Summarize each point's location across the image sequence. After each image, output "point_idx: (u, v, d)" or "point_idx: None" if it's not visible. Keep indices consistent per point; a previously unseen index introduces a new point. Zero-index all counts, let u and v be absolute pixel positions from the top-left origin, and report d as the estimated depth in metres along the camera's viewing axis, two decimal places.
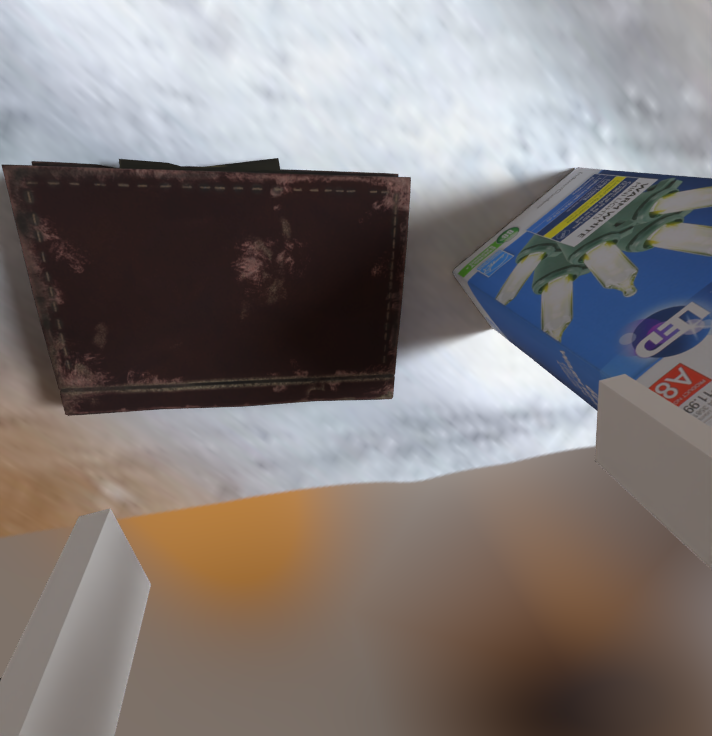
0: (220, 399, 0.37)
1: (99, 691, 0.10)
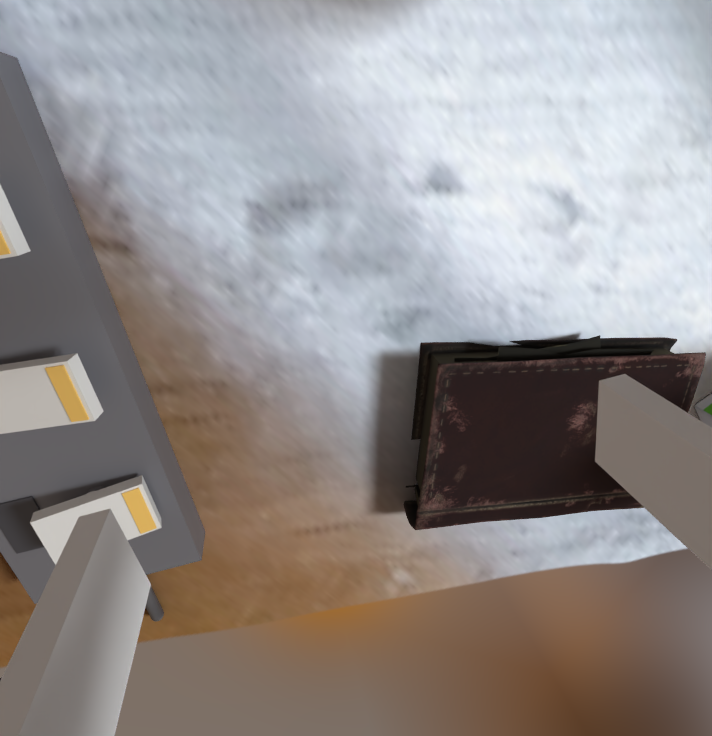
0: (526, 513, 0.47)
1: (99, 691, 0.10)
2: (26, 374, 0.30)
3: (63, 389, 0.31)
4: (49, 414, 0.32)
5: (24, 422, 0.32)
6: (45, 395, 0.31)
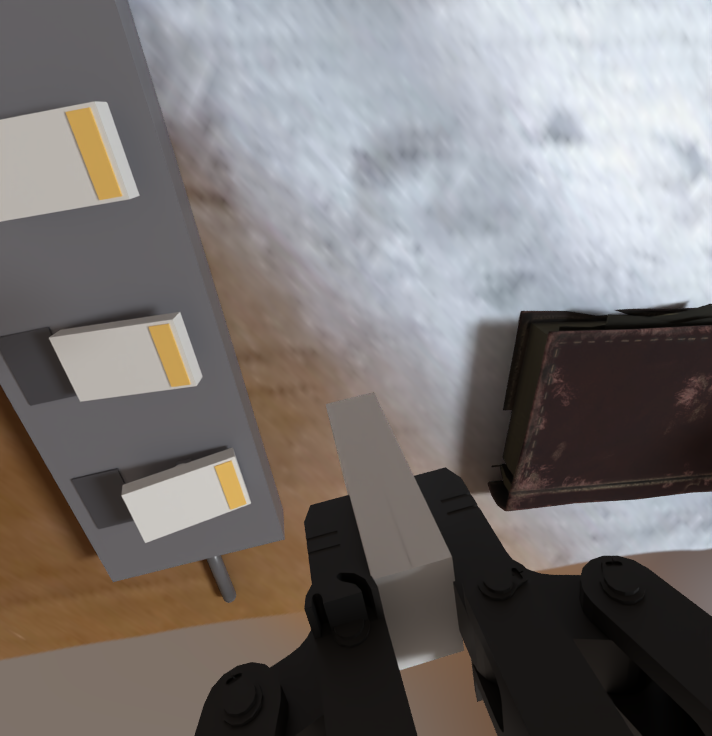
0: (621, 495, 0.44)
1: None
2: (128, 333, 0.28)
3: (165, 351, 0.28)
4: (148, 378, 0.29)
5: (120, 387, 0.30)
6: (146, 357, 0.29)
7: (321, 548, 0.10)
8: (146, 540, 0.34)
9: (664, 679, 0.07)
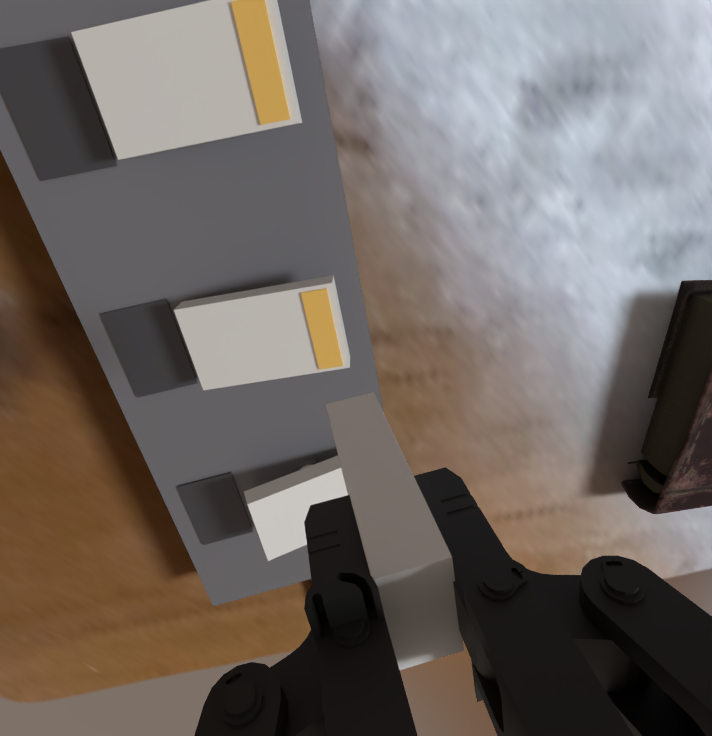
0: None
1: None
2: (273, 302, 0.23)
3: (317, 324, 0.23)
4: (291, 359, 0.24)
5: (256, 371, 0.24)
6: (292, 332, 0.23)
7: (321, 548, 0.10)
8: (269, 557, 0.28)
9: (664, 679, 0.07)
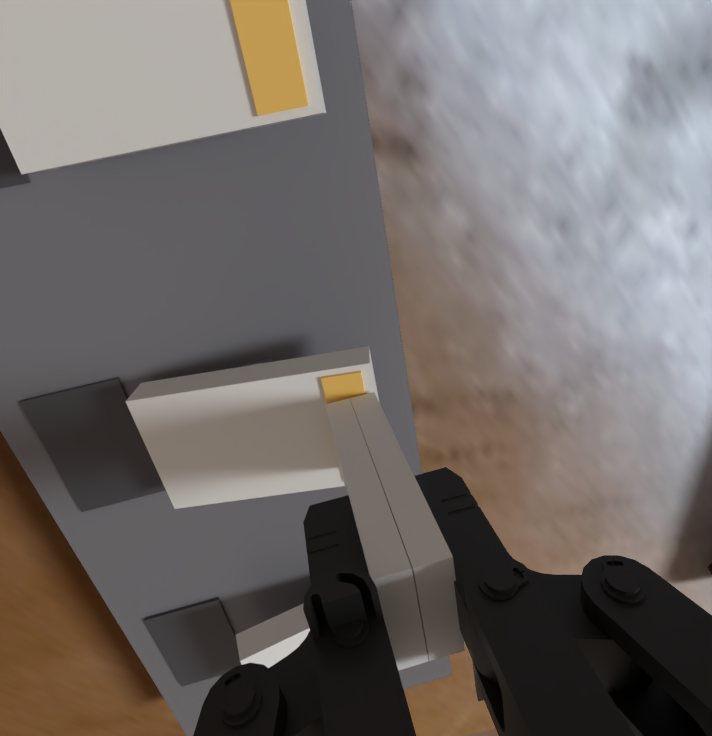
0: None
1: None
2: (278, 391, 0.15)
3: None
4: (304, 468, 0.16)
5: (252, 484, 0.16)
6: (306, 432, 0.15)
7: (320, 548, 0.10)
8: None
9: (665, 679, 0.07)
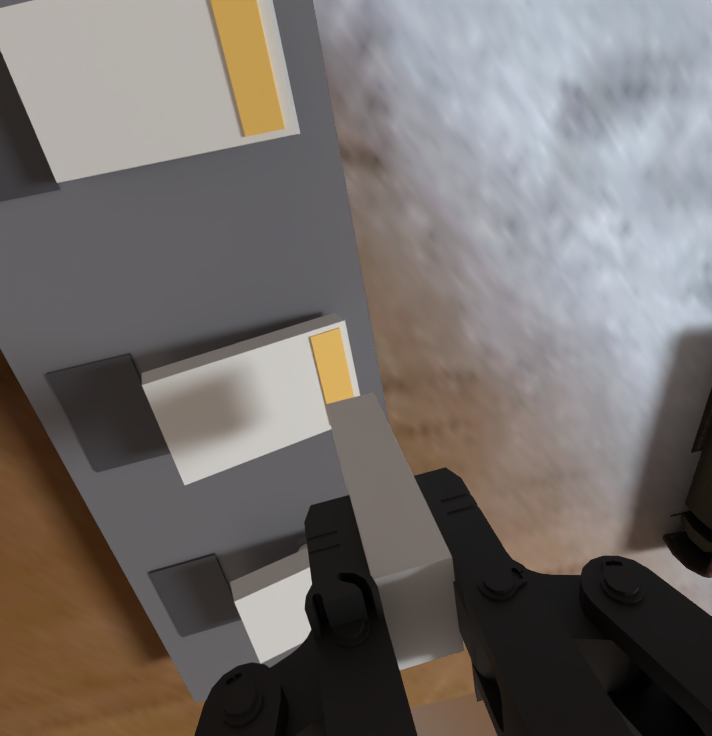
0: None
1: None
2: (276, 354, 0.18)
3: (328, 372, 0.19)
4: (298, 420, 0.19)
5: (255, 444, 0.19)
6: (299, 387, 0.19)
7: (321, 548, 0.10)
8: (262, 659, 0.23)
9: (664, 679, 0.07)
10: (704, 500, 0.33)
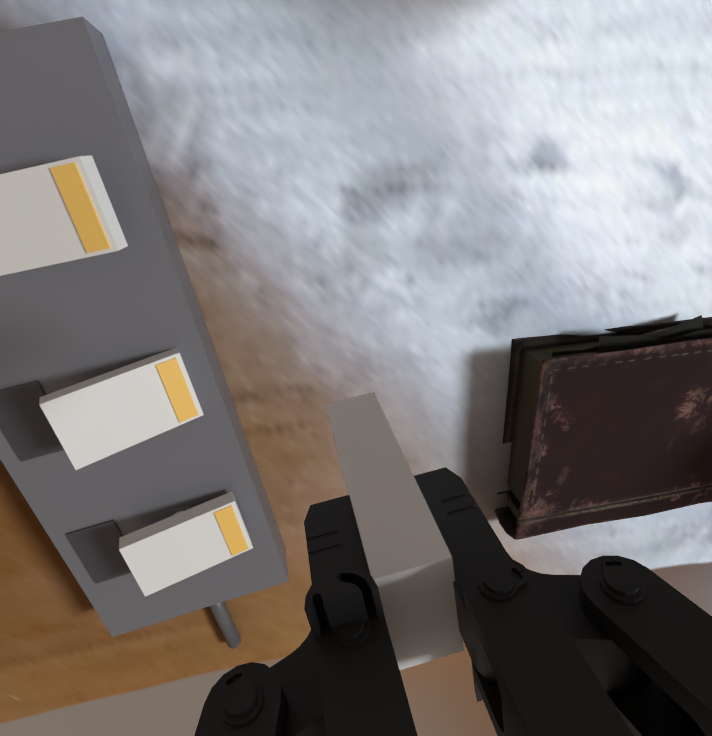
0: (630, 512, 0.44)
1: None
2: (133, 377, 0.28)
3: (172, 387, 0.29)
4: (154, 420, 0.29)
5: (124, 438, 0.29)
6: (152, 398, 0.29)
7: (321, 548, 0.10)
8: (146, 593, 0.33)
9: (664, 679, 0.07)
10: (515, 480, 0.43)
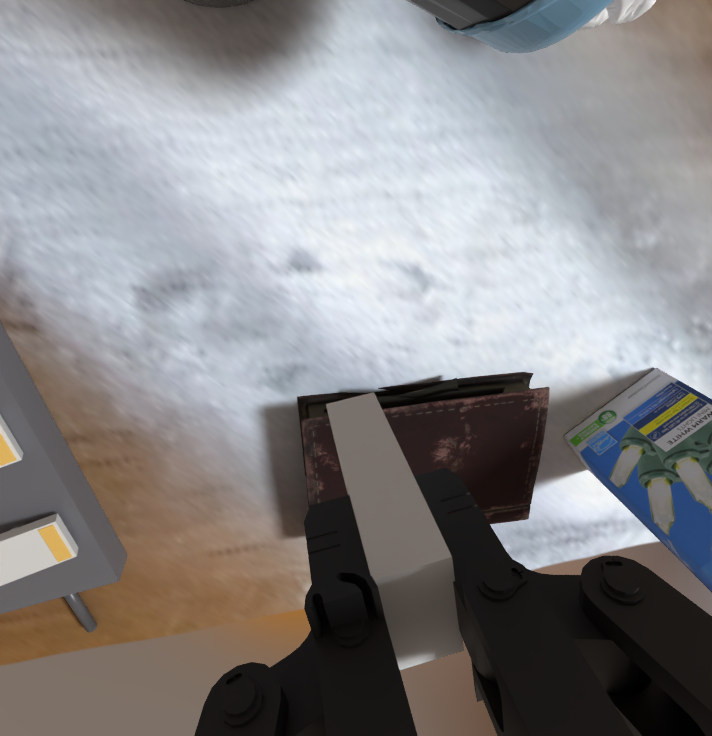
0: None
1: None
2: None
3: None
4: None
5: None
6: None
7: (321, 548, 0.10)
8: None
9: (664, 679, 0.07)
10: None
